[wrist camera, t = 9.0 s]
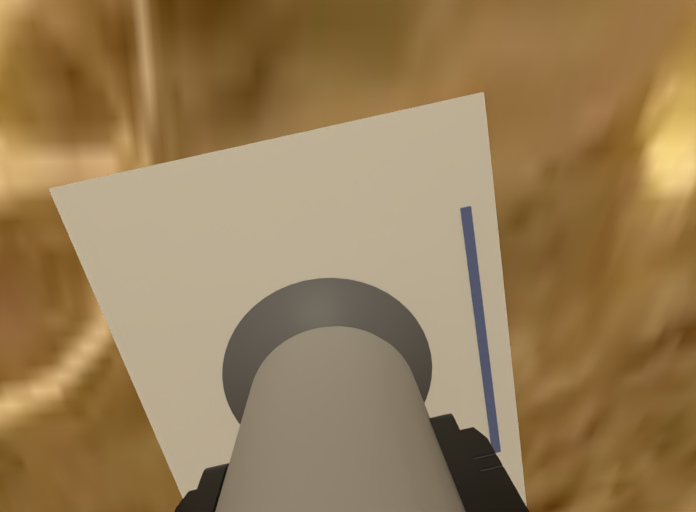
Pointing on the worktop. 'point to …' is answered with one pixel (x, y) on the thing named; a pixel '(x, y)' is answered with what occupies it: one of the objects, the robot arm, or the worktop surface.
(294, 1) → the worktop surface
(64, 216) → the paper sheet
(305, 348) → the beverage can
